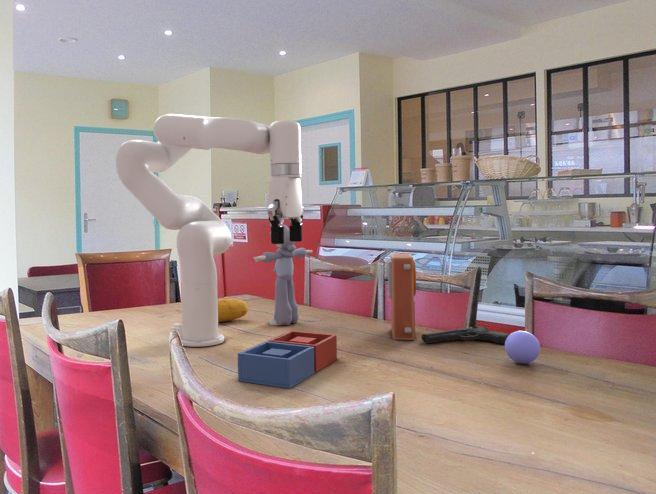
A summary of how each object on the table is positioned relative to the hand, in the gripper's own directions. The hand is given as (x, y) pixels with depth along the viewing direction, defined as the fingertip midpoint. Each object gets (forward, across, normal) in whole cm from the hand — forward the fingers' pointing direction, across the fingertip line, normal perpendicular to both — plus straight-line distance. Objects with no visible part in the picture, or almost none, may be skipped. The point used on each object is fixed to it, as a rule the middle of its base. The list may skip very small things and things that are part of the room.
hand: (287, 242), depth 140 cm
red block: (+26, +9, +8) cm, 28 cm away
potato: (+26, -25, -34) cm, 50 cm away
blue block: (+26, +22, +8) cm, 34 cm away
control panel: (+26, -28, +20) cm, 43 cm away
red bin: (+26, +9, +8) cm, 29 cm away
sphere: (+26, -11, +51) cm, 59 cm away
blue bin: (+26, +22, +8) cm, 35 cm away
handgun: (+26, -26, +37) cm, 52 cm away
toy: (+26, -29, -16) cm, 42 cm away
